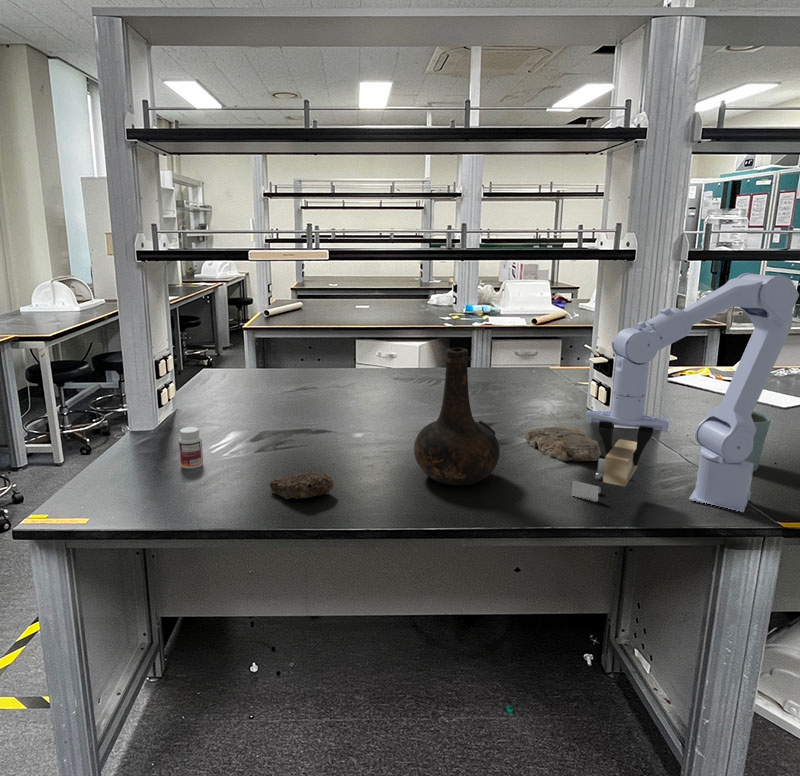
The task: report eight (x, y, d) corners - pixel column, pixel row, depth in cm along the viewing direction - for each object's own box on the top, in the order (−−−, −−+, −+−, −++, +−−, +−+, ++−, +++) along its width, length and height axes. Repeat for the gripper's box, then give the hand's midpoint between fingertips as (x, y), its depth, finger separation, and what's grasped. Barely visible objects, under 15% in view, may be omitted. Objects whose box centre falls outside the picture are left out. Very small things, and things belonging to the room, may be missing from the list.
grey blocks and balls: (621, 476, 132) (622, 463, 131) (596, 502, 118) (597, 488, 118) (598, 470, 135) (599, 458, 134) (571, 496, 121) (572, 482, 121)
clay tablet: (614, 465, 139) (572, 436, 158) (616, 445, 138) (574, 418, 157) (558, 471, 136) (522, 441, 155) (559, 450, 135) (523, 423, 154)
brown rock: (339, 499, 119) (338, 475, 118) (292, 512, 113) (291, 487, 112) (311, 480, 128) (310, 458, 127) (266, 492, 122) (265, 468, 121)
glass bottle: (512, 489, 124) (520, 355, 118) (429, 499, 119) (432, 359, 113) (477, 459, 141) (482, 340, 134) (403, 467, 136) (404, 343, 129)
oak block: (637, 466, 121) (640, 442, 120) (625, 486, 111) (627, 460, 110) (617, 462, 123) (619, 439, 122) (602, 482, 113) (605, 456, 112)
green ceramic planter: (731, 455, 145) (738, 406, 142) (772, 469, 137) (781, 418, 134) (702, 461, 141) (709, 412, 138) (744, 476, 132) (752, 424, 129)
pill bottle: (185, 461, 138) (182, 426, 136) (206, 461, 138) (203, 426, 136) (177, 469, 134) (174, 432, 132) (198, 469, 133) (196, 433, 131)
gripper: (672, 392, 114) (664, 461, 117) (592, 384, 120) (586, 450, 123) (671, 401, 107) (662, 473, 111) (586, 392, 113) (581, 461, 117)
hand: (622, 462), depth 116 cm, fingers closed on oak block, 4 cm apart
